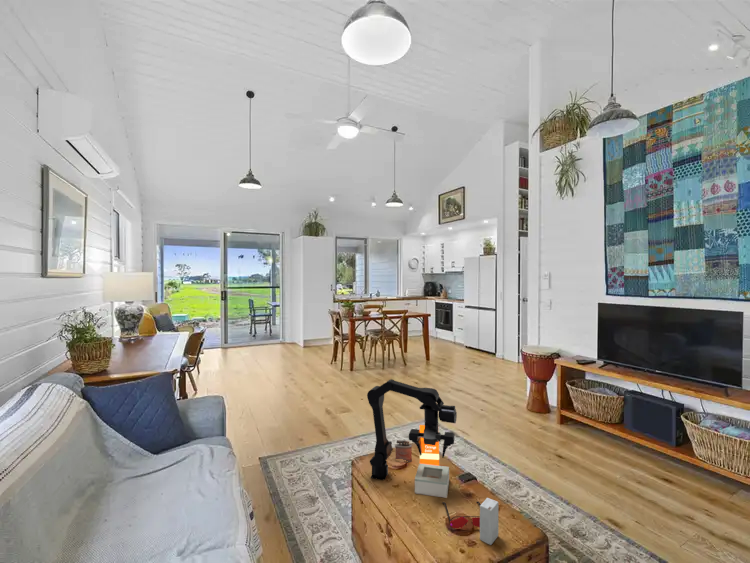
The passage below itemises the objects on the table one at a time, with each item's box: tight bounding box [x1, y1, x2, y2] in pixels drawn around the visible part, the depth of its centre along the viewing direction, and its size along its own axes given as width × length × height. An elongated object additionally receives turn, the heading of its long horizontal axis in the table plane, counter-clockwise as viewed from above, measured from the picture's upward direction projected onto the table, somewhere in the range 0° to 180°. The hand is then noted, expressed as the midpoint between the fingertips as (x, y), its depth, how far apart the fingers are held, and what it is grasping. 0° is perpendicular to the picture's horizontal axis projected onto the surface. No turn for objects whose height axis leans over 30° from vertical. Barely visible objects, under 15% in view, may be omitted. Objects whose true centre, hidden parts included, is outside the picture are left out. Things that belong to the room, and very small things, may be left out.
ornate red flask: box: [394, 439, 413, 463], centre depth 179 cm, size 8×3×10 cm, turn 84°
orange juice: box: [419, 424, 440, 466], centre depth 171 cm, size 8×9×20 cm
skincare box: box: [479, 497, 499, 546], centre depth 125 cm, size 6×4×12 cm
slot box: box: [414, 462, 450, 499], centre depth 156 cm, size 13×13×6 cm
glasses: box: [441, 501, 482, 529], centre depth 137 cm, size 14×16×5 cm
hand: (431, 456), depth 156 cm, fingers open, 9 cm apart
